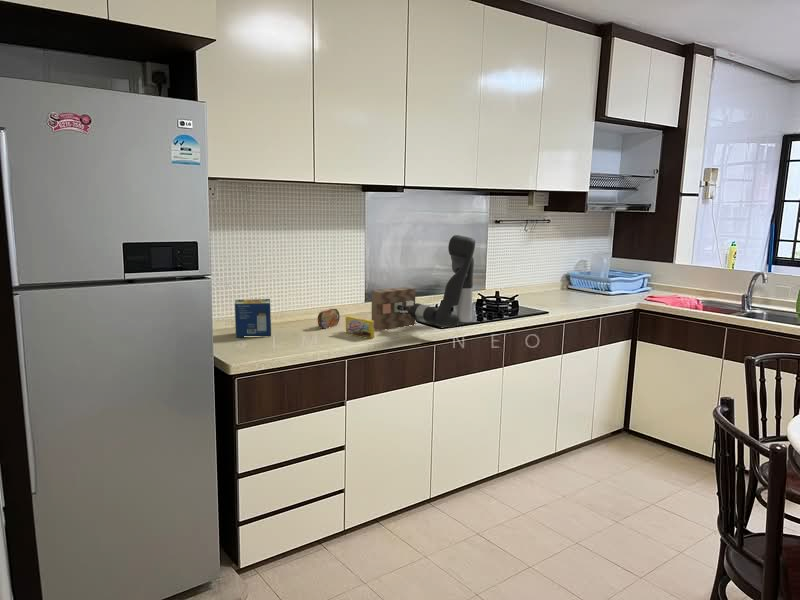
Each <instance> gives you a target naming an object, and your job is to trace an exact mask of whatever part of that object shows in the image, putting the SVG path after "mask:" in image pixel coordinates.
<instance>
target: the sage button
mask: <svg viewBox="0 0 800 600" xmlns="http://www.w3.org/2000/svg"><path fill="white" fill-rule="evenodd" d="M398 305H402V302H394V312H400V310H398V309H397V306H398Z"/></svg>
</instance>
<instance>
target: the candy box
mask: <svg viewBox="0 0 800 600" xmlns="http://www.w3.org/2000/svg"><path fill="white" fill-rule="evenodd" d="M345 333H347V334H346V335H350V334H352V336H355V335H356V336H355V337H359V336H361V338H364V337H366V338H365V339H369V338H370V340H374V339H375V329H374V321H373V320H372V319H367V318H361V317H356V316H353V315H352V316H351V315H346V316H345ZM373 338H374V339H373Z"/></svg>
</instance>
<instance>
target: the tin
mask: <svg viewBox="0 0 800 600" xmlns="http://www.w3.org/2000/svg"><path fill="white" fill-rule="evenodd" d="M340 318H341V317H340V312H339V310H338V309H337V308H329V309H326V310H322V311H320V312H319V313H318V315H317V325H318V327H319V328H320V329H324V330H326V328H327V329H329V327H330V328H333V327H336V326H338V324H339V322H340Z"/></svg>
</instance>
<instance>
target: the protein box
mask: <svg viewBox="0 0 800 600" xmlns="http://www.w3.org/2000/svg"><path fill="white" fill-rule="evenodd" d="M271 310H272V309H271V299H270V298H259V299H258V298H255V299H253V298H252V299H235V301H234V320H235V321H234V323H235V325H234V326H235V338H236V337H244V336H271V337H272V315H271V314H272V313H271Z"/></svg>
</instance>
